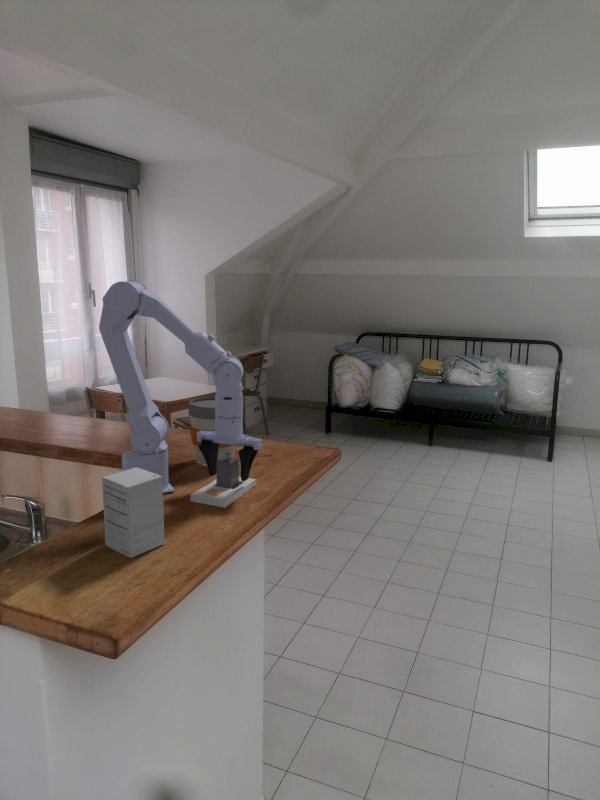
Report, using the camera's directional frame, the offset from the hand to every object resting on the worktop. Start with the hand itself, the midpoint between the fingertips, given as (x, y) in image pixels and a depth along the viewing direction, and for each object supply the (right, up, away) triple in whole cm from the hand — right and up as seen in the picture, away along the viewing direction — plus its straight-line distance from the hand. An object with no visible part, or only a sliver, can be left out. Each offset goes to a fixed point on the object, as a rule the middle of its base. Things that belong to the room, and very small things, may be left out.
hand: (228, 477), depth 134 cm
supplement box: (-13, -9, -26) cm, 31 cm away
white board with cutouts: (-1, -3, -1) cm, 4 cm away
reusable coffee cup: (-6, +1, +20) cm, 21 cm away
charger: (0, -3, 0) cm, 3 cm away
